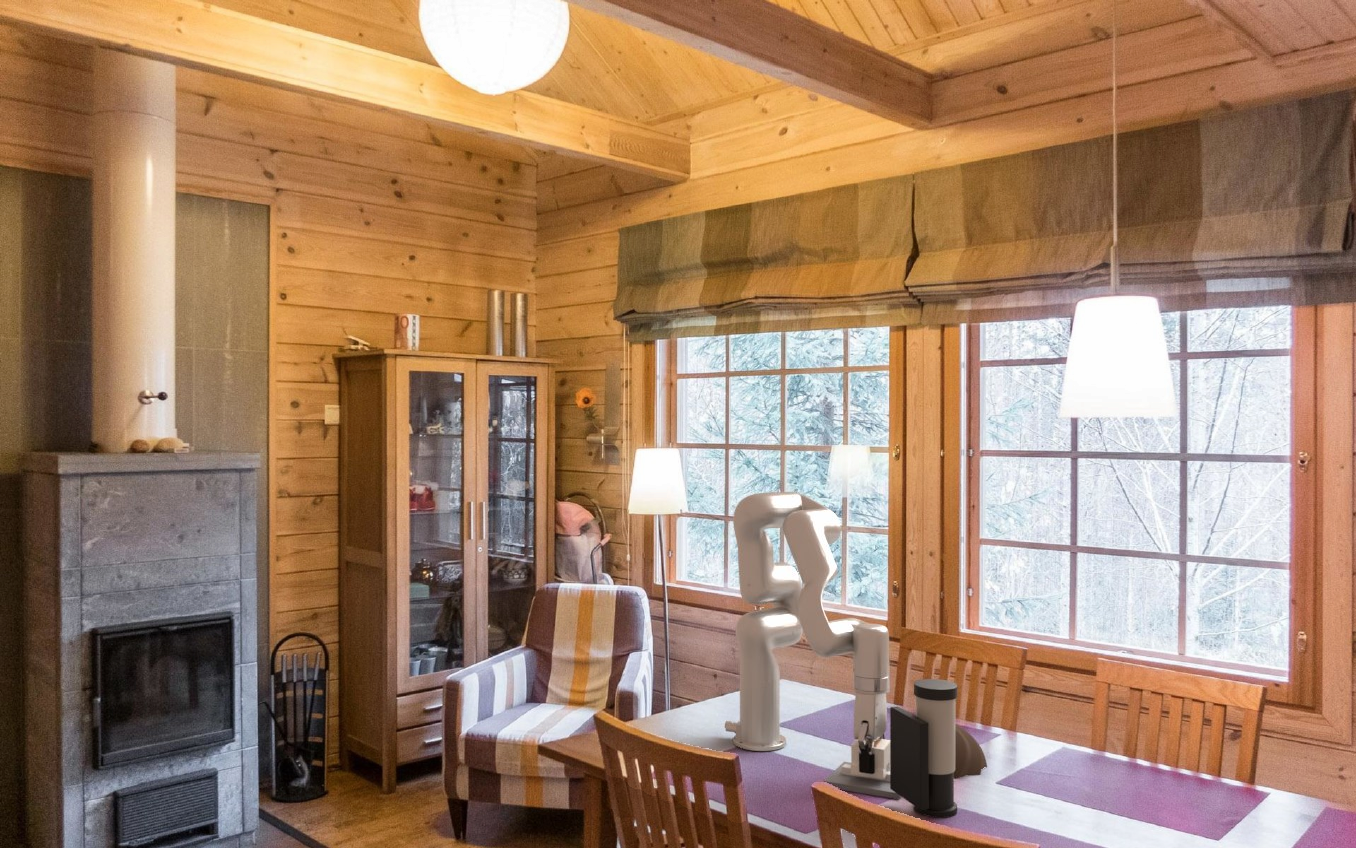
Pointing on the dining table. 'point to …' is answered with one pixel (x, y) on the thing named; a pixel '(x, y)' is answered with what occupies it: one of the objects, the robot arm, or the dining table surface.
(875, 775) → the block
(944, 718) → the light fixture
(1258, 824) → the dining table surface
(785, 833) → the dining table surface
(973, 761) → the decorative dome
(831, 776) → the rail board
